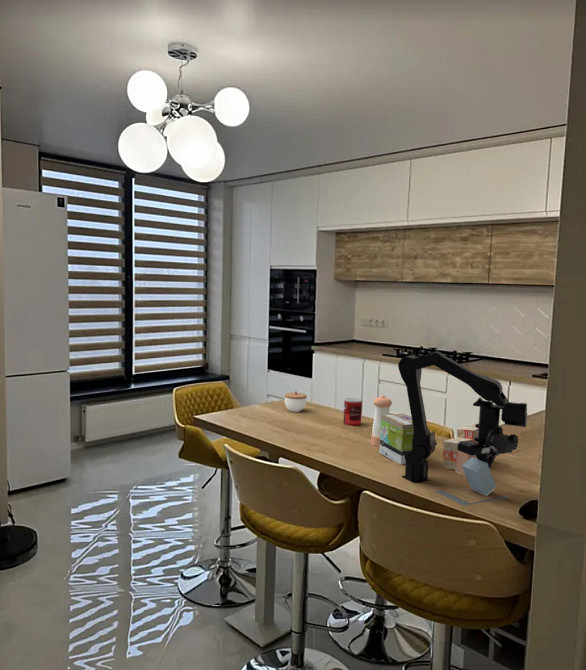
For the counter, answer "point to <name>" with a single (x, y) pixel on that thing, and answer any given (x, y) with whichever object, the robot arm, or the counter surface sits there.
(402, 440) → the tea box
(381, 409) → the salt shaker
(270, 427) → the counter surface
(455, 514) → the counter surface
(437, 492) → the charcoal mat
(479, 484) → the slate blue block
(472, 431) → the stack of blocks
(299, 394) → the lidded jar
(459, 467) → the dusty pink block
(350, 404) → the canned food
